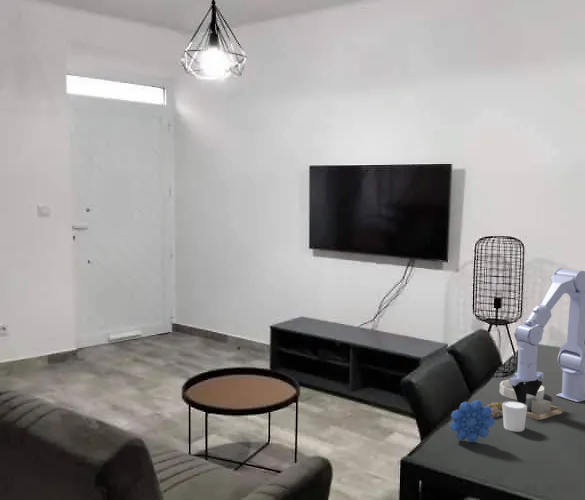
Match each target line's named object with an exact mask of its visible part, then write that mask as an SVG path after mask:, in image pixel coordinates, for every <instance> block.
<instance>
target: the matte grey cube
mask: <svg viewBox="0 0 585 500" xmlns="http://www.w3.org/2000/svg"><path fill="white" fill-rule="evenodd" d="M535 399H536V396H533V395H529V394H527V395H526V403H525V405H527V412H530V411H531V408H532V400H535ZM516 402H518V401H517V400H516Z"/></svg>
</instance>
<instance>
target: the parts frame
mask: <svg viewBox="0 0 585 500" xmlns="http://www.w3.org/2000/svg"><path fill="white" fill-rule="evenodd" d="M560 414H563V408H561V407H557V406H554V405H552V404H551V412H548V413H544V414H541V415H537V414H534V413H531V412H530V411H527V412H526V417H528V418H531V419H534V420H537V421H542V420H544V419H548V418H550V417H554V416H557V415H560Z"/></svg>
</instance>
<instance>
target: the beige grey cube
mask: <svg viewBox="0 0 585 500" xmlns="http://www.w3.org/2000/svg"><path fill="white" fill-rule="evenodd" d="M551 405H552V401H550V400H546V399H544V398H543V399H541V398H538V399H535V400H532V408H531V410H530V411H531V412H530V413H533V414H536V415H541V414H544V413H548V412H551V411H552V410H551Z"/></svg>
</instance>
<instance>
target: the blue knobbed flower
mask: <svg viewBox="0 0 585 500" xmlns="http://www.w3.org/2000/svg"><path fill="white" fill-rule="evenodd" d="M483 406H484V407H483ZM458 409H459V410H458ZM458 409H456V410H453V411H452V412H451V415H450V417H451V419H452V421H451V422H450V425H449V428H450V430H451V432H455V433H456V438H457V439H458V440H460V441H464V440H465V439H467V440H468V442H469V443H473V444H474V443H476V442H477V441H478V440H479V437H480V438H483V439H484V438H486V437H488V436H489V434H490V430H489V429H490V428H492V427H494V425H495V419H494V418H492V417H490V414H491V412H492V410H491V408H490V407H488V406H487V405H486V406H485V405H483V403H482V401H481V400H478V399H475V400H473V401H472V402H471V403H470V402H468V401H464V402H462V403H460V404H459V408H458Z"/></svg>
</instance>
